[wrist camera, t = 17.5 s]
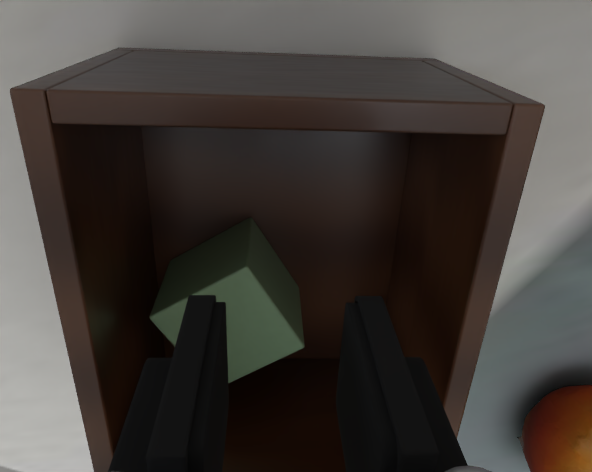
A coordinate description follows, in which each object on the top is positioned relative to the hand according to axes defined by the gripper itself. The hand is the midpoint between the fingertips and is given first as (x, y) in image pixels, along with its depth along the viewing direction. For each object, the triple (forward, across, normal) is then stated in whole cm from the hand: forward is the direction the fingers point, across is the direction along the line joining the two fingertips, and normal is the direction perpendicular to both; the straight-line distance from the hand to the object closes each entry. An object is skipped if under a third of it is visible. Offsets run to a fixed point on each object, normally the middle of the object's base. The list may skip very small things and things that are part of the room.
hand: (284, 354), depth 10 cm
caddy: (+12, 0, +3) cm, 13 cm away
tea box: (+9, 0, +4) cm, 10 cm away
